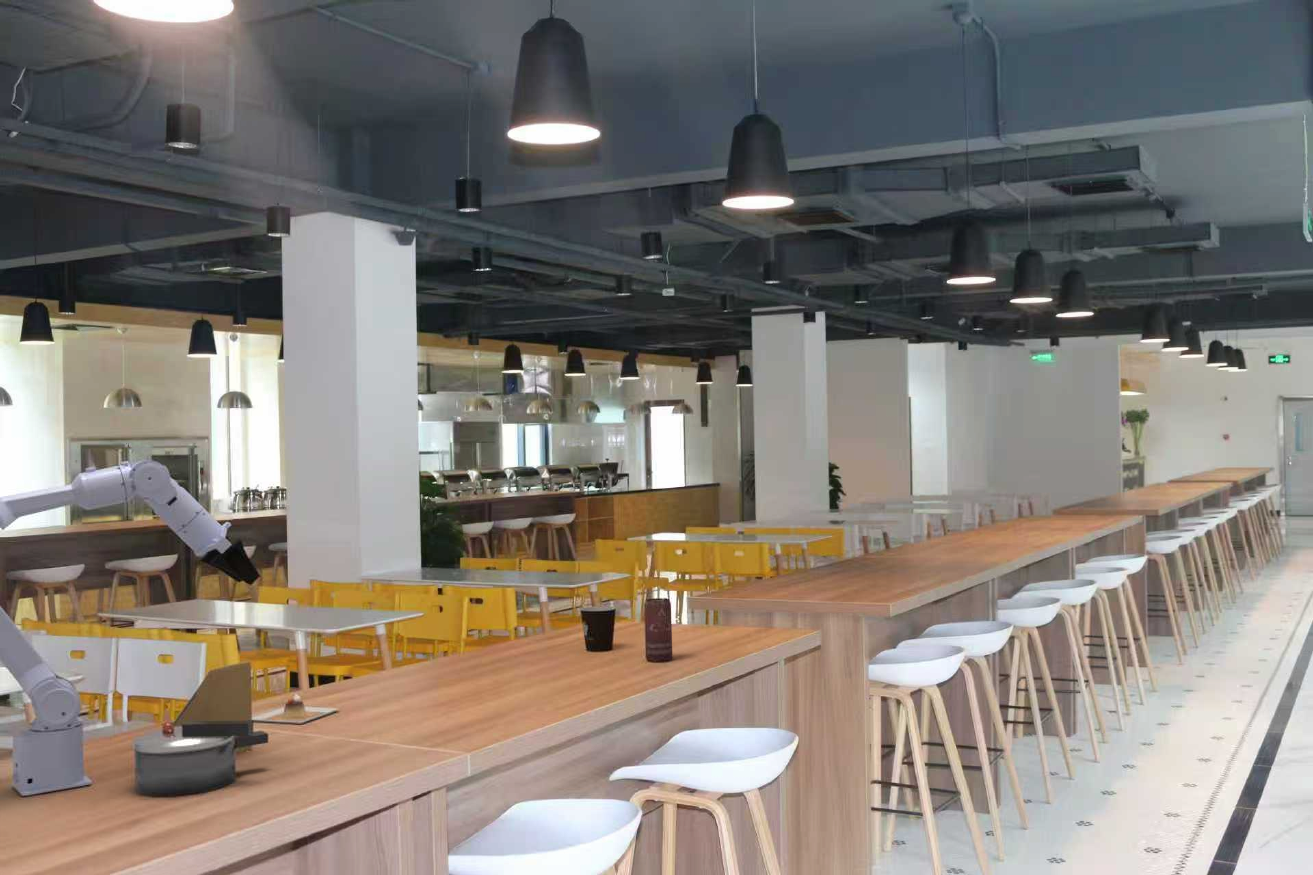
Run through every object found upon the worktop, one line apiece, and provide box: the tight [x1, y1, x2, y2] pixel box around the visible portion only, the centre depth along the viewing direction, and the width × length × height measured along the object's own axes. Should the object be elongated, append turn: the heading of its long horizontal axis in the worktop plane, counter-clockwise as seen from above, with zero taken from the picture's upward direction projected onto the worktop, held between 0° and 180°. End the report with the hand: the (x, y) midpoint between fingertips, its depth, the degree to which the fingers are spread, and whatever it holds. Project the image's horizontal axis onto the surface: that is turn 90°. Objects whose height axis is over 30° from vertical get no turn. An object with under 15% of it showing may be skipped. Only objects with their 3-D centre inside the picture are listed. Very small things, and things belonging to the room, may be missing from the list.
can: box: [643, 597, 673, 663], centre depth 277 cm, size 6×6×14 cm
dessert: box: [252, 693, 341, 725], centre depth 227 cm, size 12×12×5 cm
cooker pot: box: [134, 730, 269, 798], centre depth 182 cm, size 19×14×6 cm
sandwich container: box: [174, 661, 253, 756], centre depth 201 cm, size 9×15×15 cm, turn 61°
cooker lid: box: [132, 720, 254, 754], centre depth 181 cm, size 17×14×3 cm
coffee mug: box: [580, 606, 617, 653], centre depth 296 cm, size 12×9×10 cm
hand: (249, 579), depth 197 cm, fingers open, 7 cm apart
